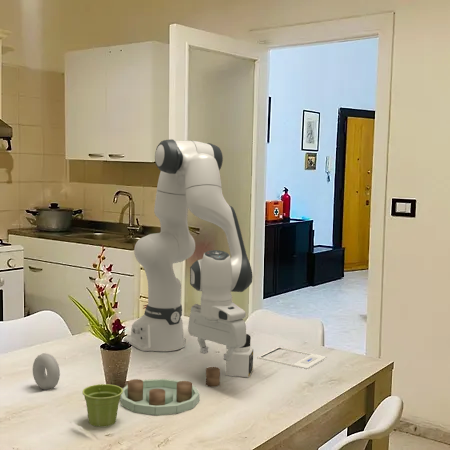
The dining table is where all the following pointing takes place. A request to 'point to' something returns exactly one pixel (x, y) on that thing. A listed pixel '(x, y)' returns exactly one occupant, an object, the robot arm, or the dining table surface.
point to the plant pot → (102, 403)
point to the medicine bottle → (241, 361)
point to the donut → (40, 375)
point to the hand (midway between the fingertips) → (215, 356)
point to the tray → (159, 408)
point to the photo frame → (303, 363)
